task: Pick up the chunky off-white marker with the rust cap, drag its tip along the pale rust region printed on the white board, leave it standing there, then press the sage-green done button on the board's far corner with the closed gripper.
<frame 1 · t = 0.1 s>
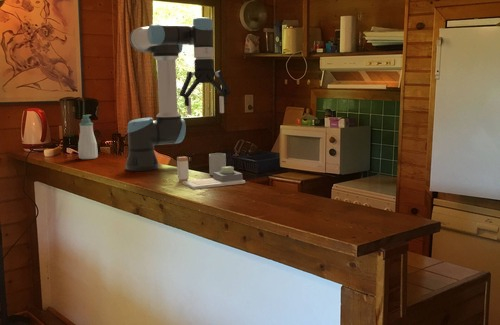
hand: (205, 113, 222), 28 cm above the countertop, fingers open, 13 cm apart
cup: (216, 174, 246), on the countertop
marker: (183, 181, 231), on the countertop
button: (227, 171, 228), point 4 cm above the countertop, slide at 0.0 cm
soap bottle: (88, 158, 300), on the countertop
board: (213, 183, 225), on the countertop
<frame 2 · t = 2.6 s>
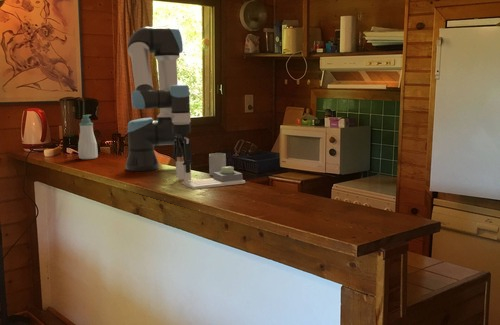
hand: (183, 178, 231), 1 cm above the countertop, fingers open, 9 cm apart
nothing on the countertop moved.
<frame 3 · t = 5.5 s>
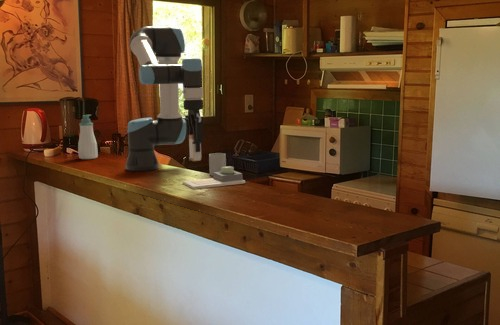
hand: (195, 159, 220), 10 cm above the countertop, fingers closed on marker, 3 cm apart
marker: (195, 160, 220), point 10 cm above the countertop, touching gripper
everything else where it was.
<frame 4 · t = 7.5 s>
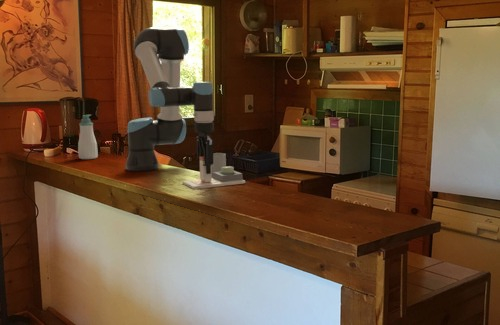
hand: (205, 180, 224), 2 cm above the countertop, fingers closed on marker, 3 cm apart
marker: (205, 181, 224), point 1 cm above the countertop, touching gripper
everything else where it was.
when the fingers open (2 cm above the countertop, at t = 8.2 s): marker stays where it is, resting on board.
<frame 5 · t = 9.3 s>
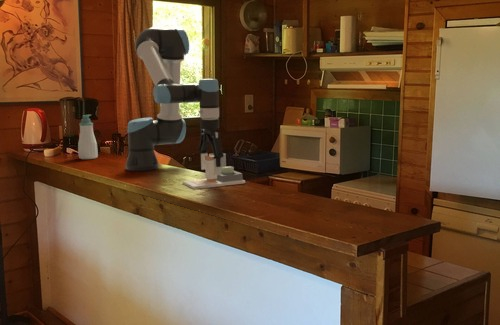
hand: (210, 172, 225), 5 cm above the countertop, fingers open, 13 cm apart
marker: (211, 181, 225), point 1 cm above the countertop, touching board
everything else where it was.
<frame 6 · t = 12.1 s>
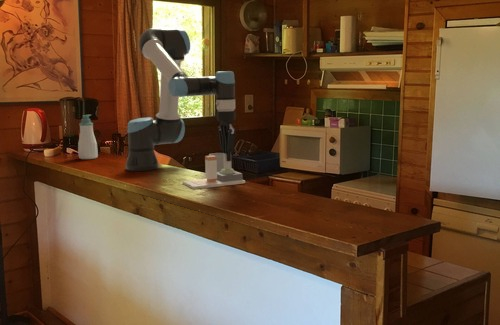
hand: (227, 168, 228), 5 cm above the countertop, fingers closed
button: (227, 173, 229), point 3 cm above the countertop, slide at -0.9 cm, touching gripper
everything else where it was.
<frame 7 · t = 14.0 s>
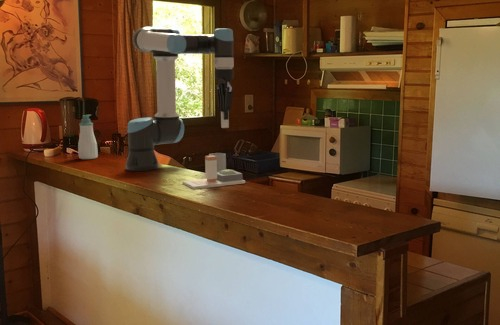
hand: (224, 127, 229), 22 cm above the countertop, fingers closed
button: (227, 174, 229), point 3 cm above the countertop, slide at -1.3 cm
everything else where it was.
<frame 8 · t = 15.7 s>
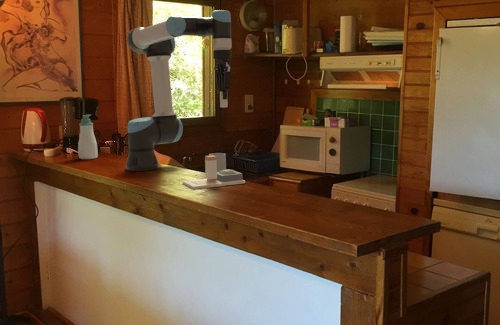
hand: (223, 107, 235), 29 cm above the countertop, fingers closed
nothing on the countertop moved.
at the end: button slide at -1.3 cm; marker inside the target area on the board (2.6 cm from its centre), point 1.1 cm above the board's base; the gripper is holding nothing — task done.
